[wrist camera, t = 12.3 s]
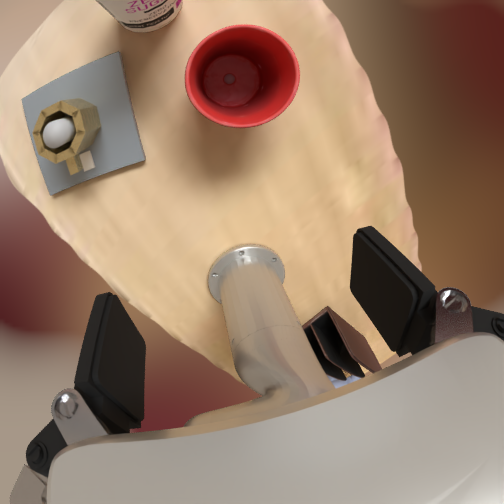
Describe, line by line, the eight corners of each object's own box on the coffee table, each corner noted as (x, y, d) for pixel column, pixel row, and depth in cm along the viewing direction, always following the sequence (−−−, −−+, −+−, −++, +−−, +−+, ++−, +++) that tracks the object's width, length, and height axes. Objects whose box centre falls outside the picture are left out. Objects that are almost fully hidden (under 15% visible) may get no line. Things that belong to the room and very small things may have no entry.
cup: (50, 112, 25) (28, 117, 20) (93, 92, 25) (75, 93, 21) (67, 171, 30) (49, 186, 25) (109, 154, 30) (95, 167, 25)
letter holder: (327, 304, 55) (357, 357, 43) (364, 335, 65) (389, 378, 53) (290, 333, 57) (312, 388, 45) (333, 358, 67) (355, 402, 56)
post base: (145, 158, 33) (135, 175, 26) (53, 193, 31) (28, 217, 25) (120, 52, 24) (102, 42, 18) (25, 98, 23) (-8, 104, 16)
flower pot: (174, 57, 27) (169, 44, 19) (259, 33, 27) (283, 15, 19) (201, 131, 33) (205, 144, 25) (282, 105, 33) (312, 111, 25)
